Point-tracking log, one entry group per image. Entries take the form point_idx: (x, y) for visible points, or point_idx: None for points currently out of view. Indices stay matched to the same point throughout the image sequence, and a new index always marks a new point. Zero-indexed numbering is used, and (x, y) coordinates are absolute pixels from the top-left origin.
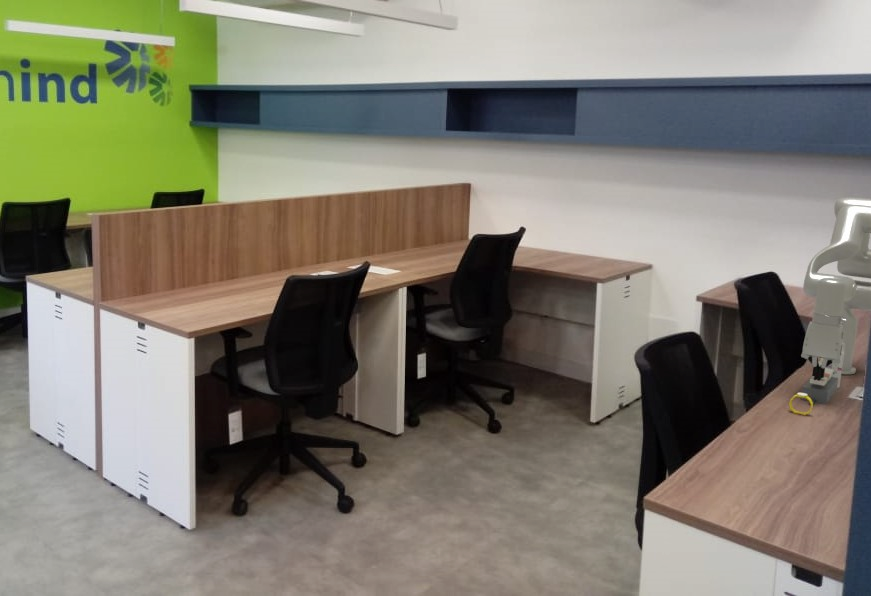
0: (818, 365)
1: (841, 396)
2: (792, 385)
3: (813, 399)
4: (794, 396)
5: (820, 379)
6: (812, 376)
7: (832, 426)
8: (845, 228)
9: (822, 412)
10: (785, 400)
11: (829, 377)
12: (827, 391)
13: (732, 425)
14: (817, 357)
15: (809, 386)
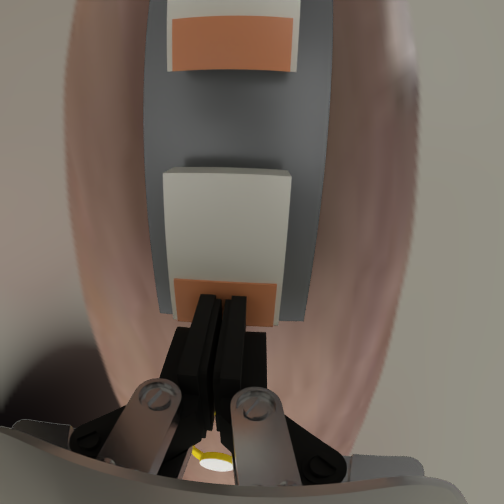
0: (200, 422)
1: (359, 67)
2: (89, 50)
3: None
4: (196, 456)
5: (245, 326)
6: (166, 237)
7: (317, 437)
8: None
9: (288, 372)
10: (138, 323)
11: (294, 71)
12: (301, 317)
13: None
14: (151, 472)
15: None
